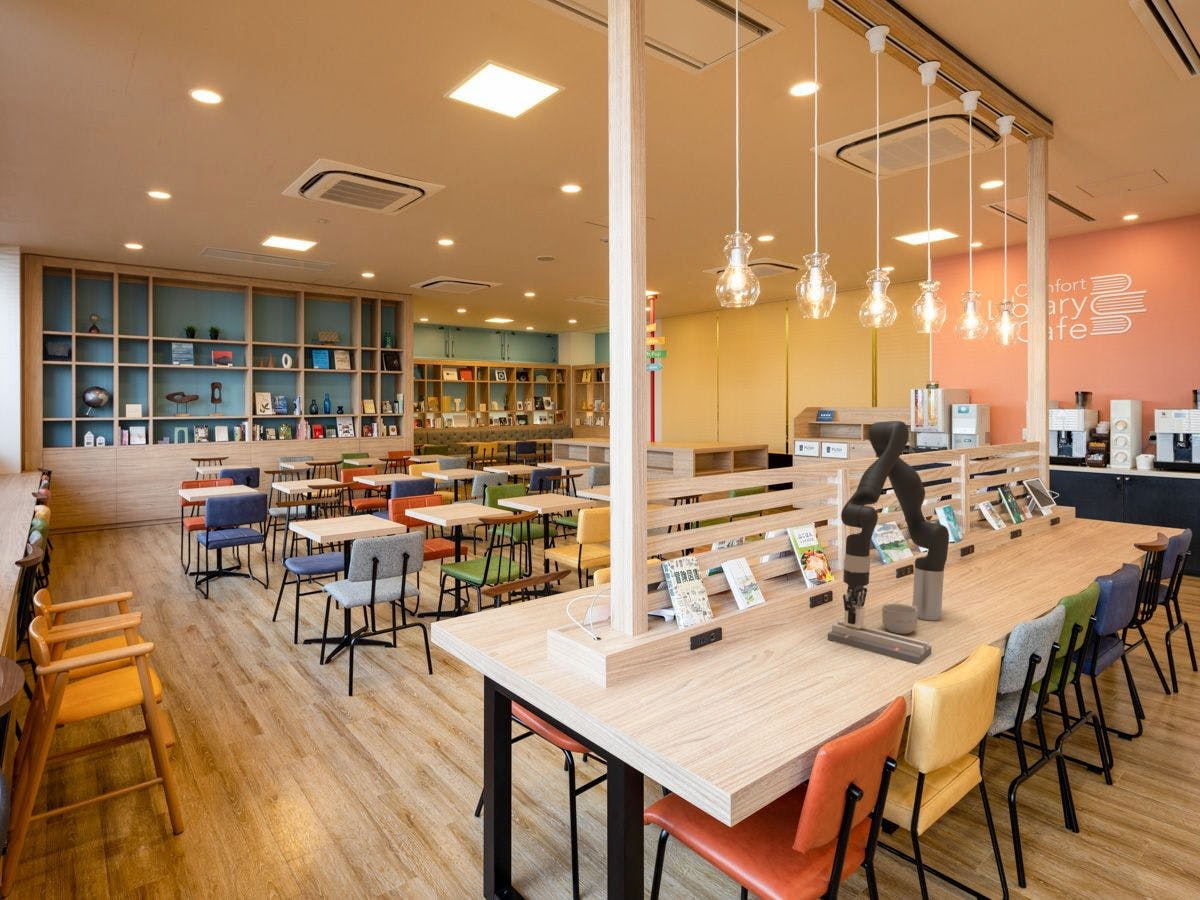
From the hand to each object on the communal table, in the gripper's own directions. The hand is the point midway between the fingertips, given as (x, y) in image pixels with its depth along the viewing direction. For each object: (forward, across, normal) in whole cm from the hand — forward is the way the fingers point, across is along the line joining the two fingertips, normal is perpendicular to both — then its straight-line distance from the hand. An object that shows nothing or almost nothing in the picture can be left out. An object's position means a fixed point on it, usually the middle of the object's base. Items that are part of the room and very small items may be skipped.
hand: (853, 622), depth 212 cm
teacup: (+6, -20, +8) cm, 22 cm away
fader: (+3, 0, 0) cm, 3 cm away
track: (+6, 0, +8) cm, 10 cm away
